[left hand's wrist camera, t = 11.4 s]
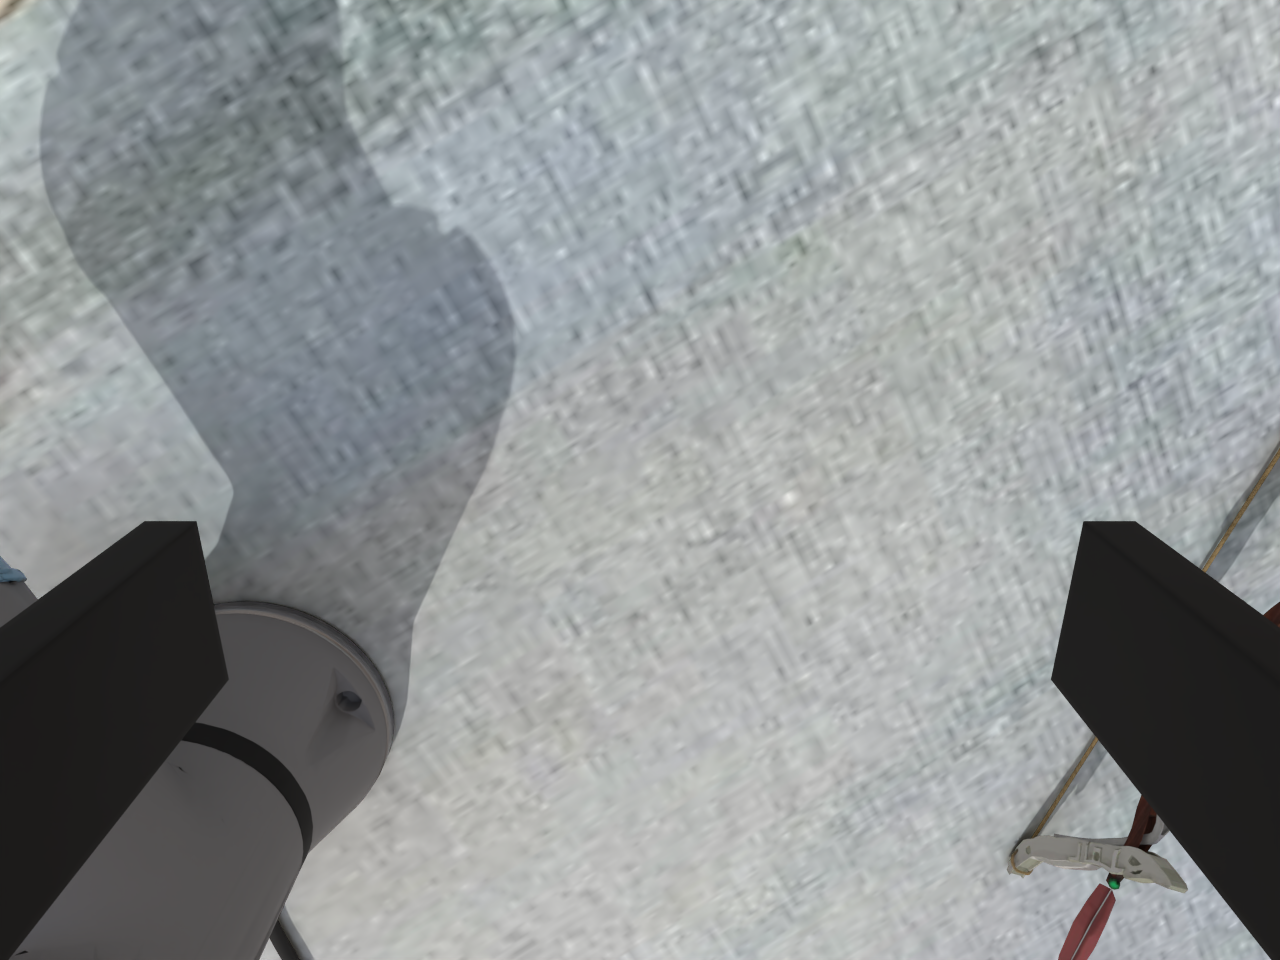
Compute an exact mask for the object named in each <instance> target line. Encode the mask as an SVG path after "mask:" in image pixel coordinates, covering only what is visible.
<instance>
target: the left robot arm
mask: <svg viewBox="0 0 1280 960" xmlns="http://www.w3.org/2000/svg"><path fill="white" fill-rule="evenodd" d="M26 580H27V578H26V577H25V575H24V574H23V573H22V572H21V571H20V570H17V569H14V568H11V567H10V566H9V565H8V564H7V563H6V562H5V561H4V560H3V559H2V558H1V556H0V960H259V959H260V957H261V955H262V952H263V950H264V948H265V946H266V944H267V941H268V939H269V938H270V940H271V942H272V944H273V945H274V947H275V949H276V951H277V952H278V954H279V956H280V957H281V959H282V960H299V958H298V956H297V954H296V952H295V951H294V949H293V947H292V945H291V944H290V942H289V940H288V938H287V937H286V935H285V933H284V931H283V929H282V927H281V925H280V923H279V921H278V917H279V915H280V913H281V911H282V909H283V906H284V904H285V902H286V900H287V898H288V895H289V893H290V891H291V889H292V887H293V884H294V882H295V880H296V878H297V876H298V873H299V871H300V869H301V867H302V865H303V863H304V861H305V858H306V856H307V854H308V853H309V852H310V851H311V850H312V849H313V848H314V847H315V846H316V845H317V844H318V843H319V842H320V841H321V840H322V839H323V838H324V837H325V836H326V835H327V834H328V833H330V832H331V831H332V830H333V829H334V828H335V827H336V826H337V825H338V824H339V823H340V822H341V821H342V820H343V819H344V818H345V817H346V816H347V815H348V814H349V813H350V812H351V811H352V810H354V809H355V808H356V807H357V805H358V804H359V803H360V802H361V801H362V800H363V799H364V797H365V796H366V795H367V793H368V792H369V790H370V789H371V787H372V786H373V784H374V783H375V781H376V780H377V778H378V776H379V775H380V772H381V770H382V768H383V765H384V763H385V761H386V758H387V756H388V753H389V751H390V747H391V744H392V739H393V732H394V718H393V709H392V704H391V700H390V697H389V694H388V691H387V688H386V686H385V684H384V682H383V680H382V678H381V676H380V674H379V673H378V671H377V669H376V668H375V667H374V665H373V664H372V662H371V661H370V660H369V659H368V657H367V656H366V655H365V654H364V653H363V652H362V650H360V649H359V648H358V647H357V646H356V645H355V644H354V643H353V642H352V641H351V640H350V639H348V638H347V637H346V636H345V635H344V634H342V633H341V632H339V631H338V630H336V629H335V628H333V627H332V626H330V625H328V624H327V623H325V622H323V621H321V620H319V619H317V618H315V617H313V616H311V615H309V614H306V613H303V612H301V611H298V610H295V609H292V608H288V607H285V606H280V605H275V604H270V603H262V602H228V603H222V604H216V605H214V604H213V599H212V595H211V590H210V585H209V580H208V575H207V570H206V565H205V561H204V556H203V551H202V546H201V541H200V536H199V531H198V527H197V522H196V521H144V522H143V523H142V524H140V525H139V526H138V527H136V528H135V529H134V530H132V531H131V532H129V533H128V534H127V535H125V536H124V537H123V538H121V539H120V540H119V541H117V542H116V543H115V544H113V545H112V546H110V547H109V548H108V549H106V550H105V551H104V552H102V553H101V554H100V555H98V556H97V557H95V558H94V559H93V560H91V561H90V562H89V563H87V564H86V565H85V566H83V567H82V568H81V569H79V570H78V571H76V572H75V573H74V574H72V575H71V576H70V577H68V578H67V579H66V580H64V581H63V582H62V583H60V584H59V585H57V586H56V587H55V588H53V589H52V590H51V591H49V592H48V593H47V594H45V595H44V596H42V597H41V598H40V599H37V598H36V597H35V595H34V594H33V593H32V592H31V590H30V589H29V588H28V586H27V585H26V584H25V583H24V582H25V581H26ZM1051 680H1052V681H1053V683H1054V684H1055V685H1056V686H1057V688H1058V689H1059V690H1060V692H1061V693H1062V694H1063V695H1064V697H1065V698H1066V699H1067V700H1068V702H1069V703H1070V704H1071V706H1072V707H1073V708H1074V709H1075V711H1076V712H1077V713H1078V714H1079V716H1080V717H1081V718H1082V720H1083V721H1084V722H1085V723H1086V725H1087V726H1088V727H1089V728H1090V730H1091V731H1092V732H1093V734H1094V735H1095V736H1096V737H1097V739H1098V740H1099V741H1100V742H1101V744H1102V745H1103V746H1104V748H1105V749H1106V750H1107V751H1108V753H1109V754H1110V755H1111V756H1112V758H1113V759H1114V760H1115V762H1116V763H1117V764H1118V765H1119V767H1120V768H1121V769H1122V770H1123V772H1124V773H1125V774H1126V775H1127V777H1128V778H1129V779H1130V781H1131V782H1132V783H1133V784H1134V786H1135V787H1136V788H1137V789H1138V791H1139V792H1140V793H1141V795H1142V796H1143V797H1144V798H1145V800H1146V801H1147V802H1148V803H1149V805H1150V806H1151V807H1152V809H1153V810H1154V811H1155V812H1156V814H1157V815H1158V816H1159V817H1160V819H1161V820H1162V821H1163V823H1164V824H1165V825H1166V826H1167V828H1168V829H1169V830H1170V831H1171V833H1172V834H1173V835H1174V837H1175V838H1176V839H1177V840H1178V842H1179V843H1180V844H1181V845H1182V847H1183V848H1184V849H1185V851H1186V852H1187V853H1188V854H1189V856H1190V857H1191V858H1192V859H1193V861H1194V862H1195V863H1196V864H1197V866H1198V867H1199V868H1200V870H1201V871H1202V872H1203V873H1204V875H1205V876H1206V877H1207V878H1208V880H1209V881H1210V882H1211V884H1212V885H1213V886H1214V887H1215V889H1216V890H1217V891H1218V892H1219V894H1220V895H1221V896H1222V898H1223V899H1224V900H1225V901H1226V903H1227V904H1228V905H1229V906H1230V908H1231V909H1232V910H1233V912H1234V913H1235V914H1236V915H1237V917H1238V918H1239V919H1240V920H1241V922H1242V923H1243V924H1244V926H1245V927H1246V928H1247V929H1248V931H1249V932H1250V933H1251V934H1252V936H1253V937H1254V938H1255V940H1256V941H1257V942H1258V943H1259V945H1260V946H1261V947H1262V948H1263V950H1264V951H1265V952H1266V953H1267V955H1268V956H1269V957H1270V959H1271V960H1280V627H1278V626H1277V625H1276V624H1274V623H1273V622H1271V621H1270V620H1269V619H1267V618H1266V617H1265V616H1263V615H1262V614H1261V613H1259V612H1258V611H1257V610H1255V609H1254V608H1252V607H1251V606H1250V605H1248V604H1247V603H1246V602H1244V601H1243V600H1242V599H1240V598H1239V597H1238V596H1236V595H1235V594H1233V593H1232V592H1231V591H1229V590H1228V589H1227V588H1225V587H1224V586H1223V585H1221V584H1220V583H1218V582H1217V581H1216V580H1214V579H1213V578H1212V577H1210V576H1209V575H1208V574H1206V573H1205V572H1204V571H1202V570H1201V569H1199V568H1198V567H1197V566H1195V565H1194V564H1193V563H1191V562H1190V561H1189V560H1187V559H1186V558H1185V557H1183V556H1182V555H1180V554H1179V553H1178V552H1176V551H1175V550H1174V549H1172V548H1171V547H1170V546H1168V545H1167V544H1165V543H1164V542H1163V541H1161V540H1160V539H1159V538H1157V537H1156V536H1155V535H1153V534H1152V533H1151V532H1149V531H1148V530H1146V529H1145V528H1144V527H1142V526H1141V525H1140V524H1138V523H1137V522H1136V521H1084V522H1083V527H1082V531H1081V536H1080V541H1079V546H1078V551H1077V556H1076V561H1075V565H1074V570H1073V575H1072V580H1071V585H1070V590H1069V595H1068V599H1067V604H1066V609H1065V614H1064V619H1063V624H1062V629H1061V633H1060V638H1059V643H1058V648H1057V653H1056V658H1055V663H1054V668H1053V672H1052V677H1051Z"/></svg>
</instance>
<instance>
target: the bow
mask: <svg viewBox="0 0 1280 960" xmlns="http://www.w3.org/2000/svg"><path fill="white" fill-rule="evenodd" d="M1279 457H1280V449H1279V450H1278V452H1277V453H1276V455H1275V456H1274V458H1273V460H1272V461H1271V463H1270V464H1269V466H1268V467H1267V469H1266V471H1265V472H1264V474H1263V475H1262V477H1261V478H1260V480H1259V482H1258V483H1257V485H1256V486H1255V488H1254V489H1253V491H1252V492H1251V494H1250V496H1249V497H1248V499H1247V500H1246V502H1245V503H1244V505H1243V507H1242V508H1241V510H1240V511H1239V513H1238V514H1237V516H1236V518H1235V519H1234V521H1233V522H1232V524H1231V525H1230V527H1229V529H1228V530H1227V532H1226V533H1225V535H1224V536H1223V538H1222V540H1221V541H1220V543H1219V544H1218V546H1217V547H1216V549H1215V551H1214V552H1213V554H1212V555H1211V557H1210V558H1209V560H1208V562H1207V563H1206V565H1205V566H1204V568H1203V569H1202V571H1204V572H1205V573H1206V571H1207V569H1208V568H1209V566H1210V565H1211V563H1212V562H1213V560H1214V558H1215V557H1216V555H1217V554H1218V552H1219V551H1220V549H1221V548H1222V546H1223V544H1224V543H1225V541H1226V540H1227V538H1228V537H1229V535H1230V533H1231V532H1232V530H1233V529H1234V527H1235V526H1236V524H1237V523H1238V521H1239V519H1240V518H1241V516H1242V515H1243V513H1244V512H1245V510H1246V509H1247V507H1248V505H1249V504H1250V502H1251V501H1252V499H1253V498H1254V496H1255V494H1256V493H1257V491H1258V490H1259V488H1260V487H1261V485H1262V484H1263V482H1264V480H1265V479H1266V477H1267V476H1268V474H1269V473H1270V471H1271V469H1272V468H1273V466H1274V465H1275V463H1276V462H1277V460H1278V459H1279ZM1244 602H1245V601H1244ZM1263 616H1265V617H1266V618H1267V619H1269V620H1270V621H1271V622H1273V623H1274V624H1276V625H1277V626H1278V627H1280V602H1279V603H1277V604H1276V605H1275V606H1273V607H1272V608H1271V609H1270V610H1268V611H1267V612H1266V613H1265V614H1264V615H1263ZM1097 741H1098V739H1097V737H1095V739H1094V740H1093V742H1092V743H1091V745H1090V747H1089V748H1088V750H1087V751H1086V753H1085V754H1084V756H1083V758H1082V759H1081V761H1080V762H1079V764H1078V765H1077V767H1076V769H1075V770H1074V772H1073V773H1072V775H1071V776H1070V778H1069V780H1068V781H1067V783H1066V784H1065V786H1064V787H1063V789H1062V790H1061V792H1060V794H1059V795H1058V797H1057V798H1056V800H1055V801H1054V803H1053V805H1052V806H1051V808H1050V809H1049V811H1048V812H1047V814H1046V816H1045V817H1044V819H1043V820H1042V822H1041V823H1040V825H1039V827H1038V828H1037V830H1036V831H1035V833H1034V834H1033V836H1032V838H1031V839H1026V840H1025V839H1024V840H1023V841H1022V842H1021V843H1020V844H1019V845H1018V846H1017V847H1016V849H1015V851H1014V852H1013V854H1012V855H1011V859H1010V861H1009V862H1008V865H1009V866H1008V868H1007V871H1008V873H1009V875H1010V874H1011V873H1013V874H1017V875H1020V876H1021V877H1022V878H1024V876H1025V875H1030V873H1031V872H1032V871H1033V869H1034V868H1035V867H1037V866H1038V865H1039V864H1041V863H1042V862H1045V863H1048V864H1050V865H1053V866H1057V867H1060V868H1064V869H1076V870H1097V869H1099V868H1101V867H1103V868H1104V869H1105V870H1107V871H1108V872H1109V874H1108V877H1107V880H1106V881H1107V883H1108V884H1109V887H1111V889H1110V888H1108V887H1106V886H1104V885H1102V884H1099V885H1098V886H1097V888H1096V889H1095V890H1094V892H1093V893H1092V894H1091V896H1090V897H1089V898H1088V900H1087V901H1086V903H1085V904H1084V906H1083V908H1082V909H1081V911H1080V912H1079V914H1078V915H1077V917H1076V918H1075V920H1074V922H1073V924H1072V926H1071V929H1070V931H1069V933H1068V936H1067V938H1066V940H1065V943H1064V945H1063V947H1062V950H1061V952H1060V954H1059V958H1058V960H1087V959H1088V957H1089V956H1090V954H1091V953H1092V951H1093V950H1094V948H1095V946H1096V944H1097V942H1098V940H1099V938H1100V936H1101V934H1102V931H1103V929H1104V927H1105V925H1106V923H1107V921H1108V918H1109V916H1110V913H1111V911H1112V908H1113V906H1114V903H1115V901H1116V900H1115V897H1114V894H1113V892H1112V889H1114V890H1115V889H1119V887H1120V882H1121V881H1122V880H1123V878H1126V879H1129V880H1133V881H1136V882H1140V883H1156V884H1159V885H1161V886H1163V887H1166V888H1168V889H1171V890H1175V891H1178V892H1182V893H1185V892H1186V891H1187V890H1188V888H1187V885H1186V883H1185V882H1184V881H1183V880H1182V878H1181V877H1180V876H1179V874H1178V873H1177V872H1176V870H1175V869H1174V868H1173V867H1172V866H1171V864H1170V863H1169V862H1168V861H1167V860H1166V859H1164V858H1162V857H1160V856H1159V855H1157V854H1155V853H1153V852H1149V851H1148V850H1149V849H1150V847H1151V846H1152V844H1156V843H1158V842H1159V841H1160V840H1161V839H1162V838H1163V837H1164V836H1165V835H1166V834H1167V833H1168V832H1169V831H1170V830H1169V829H1168V828H1167V826H1166V825H1165V824H1164V823H1163V821H1162V820H1161V819H1160V817H1159V816H1158V815H1157V814H1156V812H1155V811H1154V810H1153V809H1152V807H1151V806H1150V805H1149V803H1148V802H1147V801H1146V800H1145V798H1144V797H1143V796H1142V795H1141V798H1140V801H1139V804H1138V806H1137V809H1136V813H1135V817H1134V821H1133V825H1132V829H1131V831H1130V833H1129V836H1128V837H1124V838H1107V839H1087V838H1078V837H1070V836H1064V835H1058V834H1054V837H1053V836H1049V835H1047V836H1037V835H1038V833H1039V832H1040V830H1041V829H1042V827H1043V826H1044V824H1045V822H1046V821H1047V819H1048V818H1049V816H1050V815H1051V813H1052V812H1053V810H1054V808H1055V807H1056V805H1057V804H1058V802H1059V801H1060V799H1061V797H1062V796H1063V794H1064V793H1065V791H1066V790H1067V788H1068V787H1069V785H1070V783H1071V782H1072V780H1073V779H1074V777H1075V776H1076V774H1077V772H1078V771H1079V769H1080V768H1081V766H1082V765H1083V763H1084V762H1085V760H1086V758H1087V757H1088V755H1089V754H1090V752H1091V751H1092V749H1093V747H1094V746H1095V744H1096V743H1097Z"/></svg>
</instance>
